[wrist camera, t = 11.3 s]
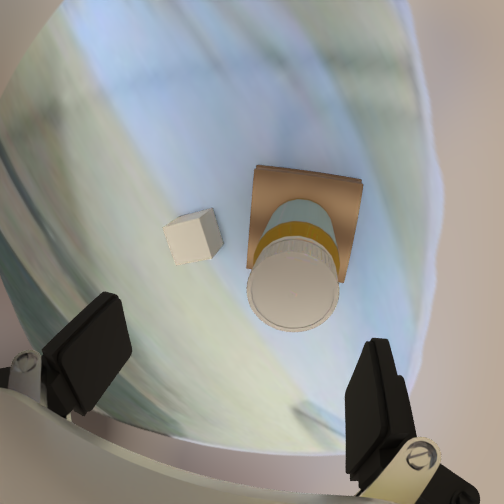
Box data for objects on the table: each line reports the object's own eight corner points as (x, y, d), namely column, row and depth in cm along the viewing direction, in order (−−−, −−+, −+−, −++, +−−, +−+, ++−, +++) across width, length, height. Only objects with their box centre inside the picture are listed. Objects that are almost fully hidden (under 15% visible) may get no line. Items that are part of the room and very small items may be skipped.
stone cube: (179, 216, 38) (162, 227, 34) (212, 207, 37) (198, 218, 32) (190, 250, 40) (176, 265, 35) (223, 243, 38) (212, 258, 34)
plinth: (257, 164, 34) (252, 167, 31) (360, 179, 32) (365, 182, 29) (249, 259, 38) (244, 269, 36) (342, 273, 37) (344, 284, 34)
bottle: (342, 238, 32) (362, 311, 18) (290, 266, 34) (275, 349, 21) (311, 185, 30) (312, 224, 17) (258, 217, 33) (219, 276, 19)
